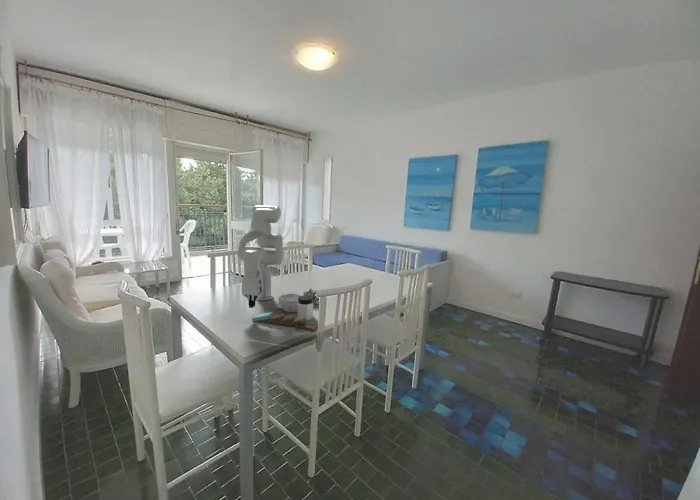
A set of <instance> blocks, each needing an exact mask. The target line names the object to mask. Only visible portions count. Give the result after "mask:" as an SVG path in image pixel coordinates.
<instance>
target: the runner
mask: <svg viewBox="0 0 700 500" xmlns="http://www.w3.org/2000/svg"><path fill="white" fill-rule="evenodd" d="M254 316H256V315H254V314H253V315H251V316H249V317H248V318H247V319H245V320H244V321H242V323H243V324H248V325H249V324H250V325H255V326H256V325H257V326H263V327H269V328H277V329H281V330H287V331H295V330H297V329H296V328H295V325H291V326H284V323H282V324H277V325H274V323H273V322H267V323H263V322H262V320H259V321H253V322H252V318H253V317H254Z"/></svg>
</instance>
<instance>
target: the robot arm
mask: <svg viewBox="0 0 700 500" xmlns="http://www.w3.org/2000/svg"><path fill="white" fill-rule="evenodd" d="M251 213H252V215H251V221H250V229H249V231H247V232H246V233H245V234H244V235H242V237H241V238H240V241H239V243H238V247H237V248H238V249H237V258H238V259H239V260H240V261H242V262H243V275H242V279H241V294H242V295H241V296H243V297H245V298H246V299H247V301H248V308H250V309H253V308H254V307H255V306H256V301H270V300H272V299H273V298H274V294H273V293H272V270H271V269H270V267H269V266H279V265H280V266H281V264H282V263H283V253H284V252H283V249H284V248H283V246H284V245H283V244H284V241H283V236H282V234H280V233H272V224H277V223H278V222H279V221H280V218H281V216H282V211H281V208H280V206H277V205H265V204H264V205H262V204H261V205H259V204H258V205H253V206H252V208H251ZM255 240H256V244H257V247H255V246H247V245H248V244H249V243H250V242H251V241H255ZM270 249H272V250H270ZM273 249H275V250H273Z"/></svg>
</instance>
